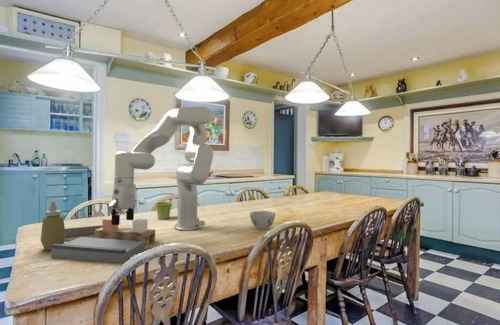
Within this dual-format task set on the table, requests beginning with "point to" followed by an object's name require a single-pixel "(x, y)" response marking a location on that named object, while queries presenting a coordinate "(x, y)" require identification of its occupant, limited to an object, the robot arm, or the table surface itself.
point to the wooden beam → (126, 234)
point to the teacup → (262, 219)
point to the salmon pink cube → (108, 224)
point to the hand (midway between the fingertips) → (122, 222)
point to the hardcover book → (81, 232)
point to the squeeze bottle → (52, 228)
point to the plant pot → (163, 209)
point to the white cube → (140, 225)
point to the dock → (98, 249)
